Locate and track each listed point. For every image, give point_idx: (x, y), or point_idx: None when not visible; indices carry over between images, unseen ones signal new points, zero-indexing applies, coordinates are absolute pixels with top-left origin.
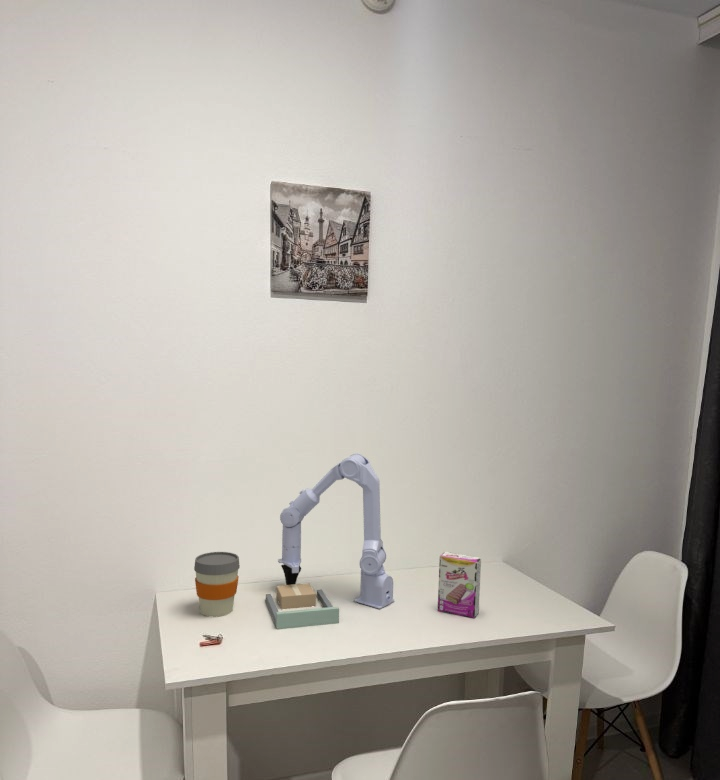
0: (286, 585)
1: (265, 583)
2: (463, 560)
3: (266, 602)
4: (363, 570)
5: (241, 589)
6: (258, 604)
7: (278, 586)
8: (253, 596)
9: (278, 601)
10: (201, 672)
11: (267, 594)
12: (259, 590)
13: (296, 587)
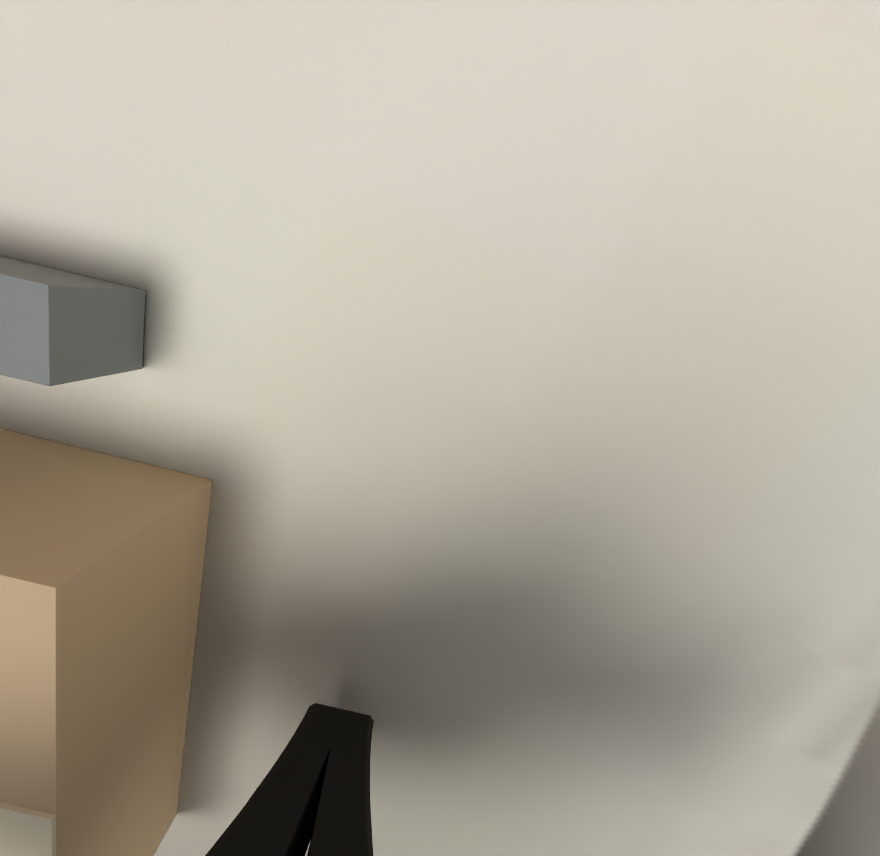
0: (31, 745)
1: (833, 560)
2: None
3: (46, 268)
4: None
5: (850, 70)
6: (20, 116)
7: (5, 600)
8: (398, 168)
9: (28, 441)
10: None
11: (9, 307)
12: (608, 368)
13: None
